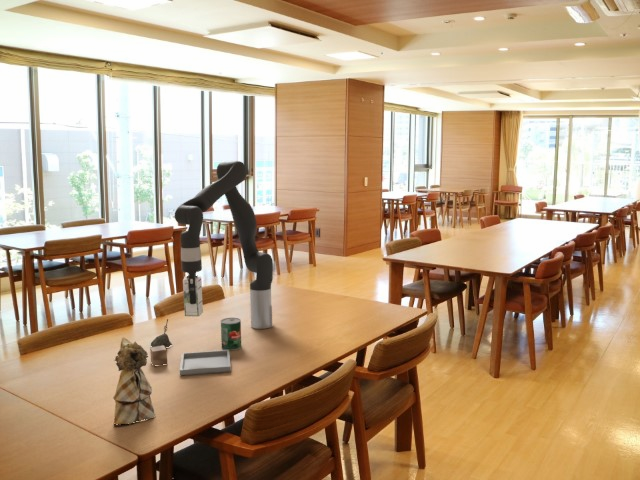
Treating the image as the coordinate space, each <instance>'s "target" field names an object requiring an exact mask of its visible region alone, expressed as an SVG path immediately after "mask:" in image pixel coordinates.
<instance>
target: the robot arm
mask: <svg viewBox="0 0 640 480" xmlns="http://www.w3.org/2000/svg"><path fill="white" fill-rule="evenodd" d="M247 174H248V171H247V167H246V165H245V163H244V162H243V161H240V160H239V161H238V160H231V161H228V160H227V161H222V162H220V163H218V165H217V167H216V176H217V180H216V181H214V182H212V183H210V184H208V185H206V186H205V187H203V188H202V189H201V190H200V191H199V192H198V193H197V194H195V196H193V197H192V198H190V199H188V200H187V201H184V202H183V203H181V204H180V205H178V207H177V208H176V209H175V213H174V219H175V220H174V221H176V222H177V223H178V224H180V225H188V230H185V231H182V232H181V233H180V263H181V264H180V265H181V266H180V267H181V272H182V273H187V274H188V275H186V277H187V280H188V282H187V283H188V289H189V295H190V304H196V288H197V286H195V279H197V277H199V276H198V274H197V273H199V272H201V271H202V270H203V266H202V264H203V263H202V251H201V250H202V249H201V239H200V235H201V230H202V226H203V222H204V213H205V212H207V211H208V210H210V208H211V207H212V206H213V205H214V204H215V203H216V202H218V200H219V199H220V198H221V197H223V196H225V198H226V202H227V204H228V206H229V209H230V213H231V216H232V219H233V224H234V226H235V229H236V231H237V232H236V233H237V235H238V238H239V242H240V245H241V249H242V253H243V254H242V255H243V260H244V263H245V266H246V269H247V270H248V271H249V272H252V273H256V276H255V277H256V279H254V280H252V281H250V282H249V297H250V302H249V303H250V304H249V305H250V327H251V328H252V329H255V330H258V329H259V330H261V329H269V328H273V306H272V283H273V279H274V278H273V274H274V261H273V257H272V256H271V254H269V253H267V252H261V251H259V249H258V247H257V243H256V233H257V229H258V223H257V222H258V221H257V219H256V218H257V217H256V215H255V212H254V209H253V207H252V206H251V205H250V203H249V202H248V201H247V200H246V199H245V198H244V197H243V196H242V194H241V193H240V192H239V190H238V188H237V186H238V185H240V184H242V182H244V181H245V179H246V178H247ZM191 288H194V291H190V289H191Z"/></svg>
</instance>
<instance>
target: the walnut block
mask: <svg viewBox="0 0 640 480" xmlns="http://www.w3.org/2000/svg"><path fill="white" fill-rule="evenodd" d="M149 349H150V351H149V352H150V363H151V362H152V364H153V365H152V364H151V365H152V367H153V366H155V365H163V364H167V365H168V355H167V354H168V353H167V350H168V349H166V348H165V346H164V345H163V346H157V347H150V348H149Z"/></svg>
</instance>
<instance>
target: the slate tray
mask: <svg viewBox="0 0 640 480" xmlns="http://www.w3.org/2000/svg"><path fill="white" fill-rule="evenodd" d="M230 354H231V353H230V350H224V349H222V350H206V351H194V352H193V351H191V352H181V356H180V357H181V359H180V365H179V376H180V375H189V376H200V375H213V374H226V373H231V372H232V369H231V368H232V367H231V357H230Z"/></svg>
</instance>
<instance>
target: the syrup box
mask: <svg viewBox="0 0 640 480" xmlns="http://www.w3.org/2000/svg"><path fill="white" fill-rule="evenodd" d="M187 282H188V280H187V276H185V277H184V278H183V279H182V287H183V305H184V308H183V309H184V316H185V317H200V316H201V315H202V314H203V313H204V305H203V287H202V286H203V285H202V277H201V276H198V277H197V279H195V286H197V288H196V304H190V295H189V289H188V283H187ZM190 291H194V288H191V289H190Z"/></svg>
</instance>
